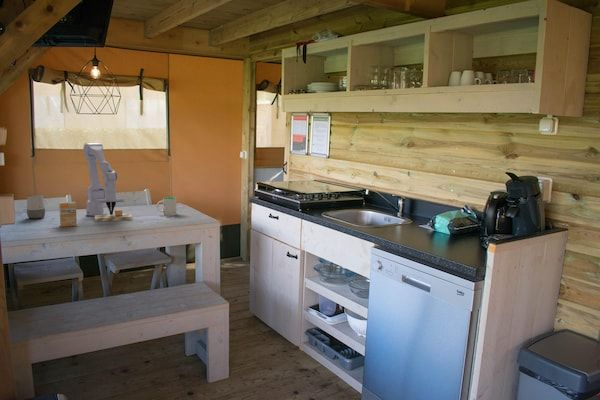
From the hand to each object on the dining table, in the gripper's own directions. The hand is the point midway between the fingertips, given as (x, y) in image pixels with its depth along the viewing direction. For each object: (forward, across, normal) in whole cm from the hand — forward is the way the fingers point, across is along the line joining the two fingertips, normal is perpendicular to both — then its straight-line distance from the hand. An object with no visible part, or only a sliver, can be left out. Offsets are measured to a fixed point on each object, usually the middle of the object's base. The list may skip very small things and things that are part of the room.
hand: (111, 214), depth 286 cm
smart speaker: (+3, -41, +16) cm, 44 cm away
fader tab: (0, +4, 0) cm, 4 cm away
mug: (+3, +33, +6) cm, 34 cm away
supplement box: (+3, -22, -12) cm, 26 cm away
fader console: (+3, +1, 0) cm, 3 cm away
